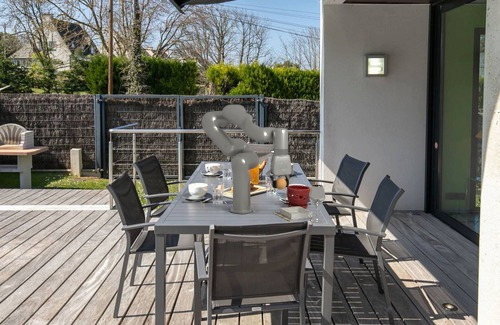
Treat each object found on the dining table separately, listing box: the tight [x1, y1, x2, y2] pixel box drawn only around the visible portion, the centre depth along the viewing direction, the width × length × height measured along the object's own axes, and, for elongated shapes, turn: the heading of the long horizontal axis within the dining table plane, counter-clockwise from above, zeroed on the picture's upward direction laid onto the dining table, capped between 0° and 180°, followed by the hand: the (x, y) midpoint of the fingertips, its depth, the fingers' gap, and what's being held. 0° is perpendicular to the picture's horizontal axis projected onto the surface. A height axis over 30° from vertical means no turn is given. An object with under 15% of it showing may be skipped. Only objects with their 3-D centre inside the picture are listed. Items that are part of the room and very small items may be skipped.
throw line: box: [273, 212, 294, 223], centre depth 253 cm, size 20×2×1 cm, turn 22°
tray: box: [278, 206, 313, 221], centre depth 257 cm, size 14×12×3 cm
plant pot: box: [286, 184, 311, 209], centre depth 275 cm, size 13×13×12 cm
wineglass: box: [309, 184, 326, 223], centre depth 245 cm, size 8×8×18 cm
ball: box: [276, 177, 287, 191], centre depth 250 cm, size 6×6×6 cm
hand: (280, 187), depth 250 cm, fingers closed on ball, 5 cm apart
